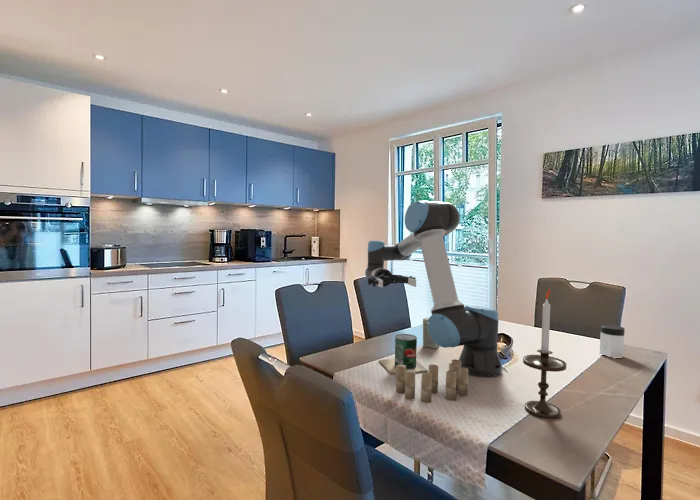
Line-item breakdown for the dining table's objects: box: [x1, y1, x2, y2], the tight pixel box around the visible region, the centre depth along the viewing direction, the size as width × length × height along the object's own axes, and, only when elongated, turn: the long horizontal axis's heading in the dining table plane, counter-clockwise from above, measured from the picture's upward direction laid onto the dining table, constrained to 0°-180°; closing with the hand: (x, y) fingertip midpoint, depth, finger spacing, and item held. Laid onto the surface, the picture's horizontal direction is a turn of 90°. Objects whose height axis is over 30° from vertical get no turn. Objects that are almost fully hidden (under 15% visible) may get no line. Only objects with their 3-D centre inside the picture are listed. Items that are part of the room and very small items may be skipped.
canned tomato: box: [394, 333, 418, 370], centre depth 141 cm, size 8×8×11 cm
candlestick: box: [522, 288, 567, 420], centre depth 108 cm, size 11×11×35 cm
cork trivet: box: [378, 358, 429, 376], centre depth 143 cm, size 14×14×1 cm
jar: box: [599, 324, 626, 358], centre depth 159 cm, size 9×8×12 cm
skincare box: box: [422, 317, 440, 349], centre depth 168 cm, size 6×4×12 cm
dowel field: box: [395, 359, 469, 404], centre depth 120 cm, size 22×15×8 cm
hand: (398, 283), depth 148 cm, fingers open, 13 cm apart
